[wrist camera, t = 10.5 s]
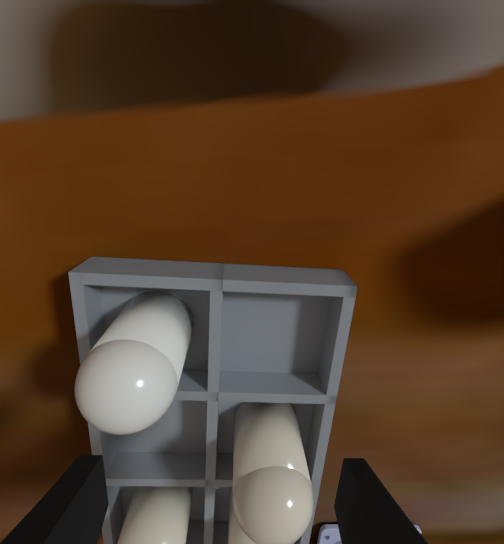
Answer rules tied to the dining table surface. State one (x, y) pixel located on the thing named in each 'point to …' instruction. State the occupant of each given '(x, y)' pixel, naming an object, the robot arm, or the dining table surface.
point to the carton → (219, 373)
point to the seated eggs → (239, 487)
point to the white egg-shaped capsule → (135, 364)
